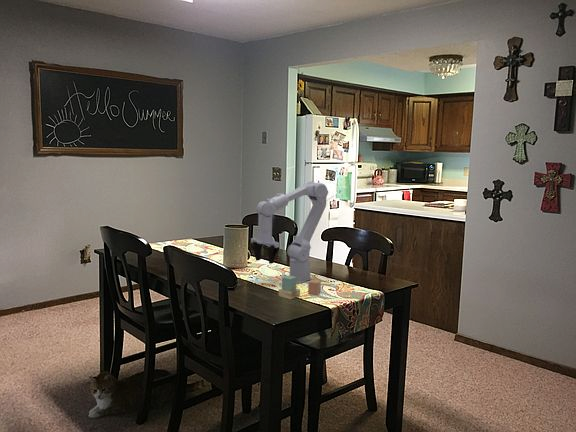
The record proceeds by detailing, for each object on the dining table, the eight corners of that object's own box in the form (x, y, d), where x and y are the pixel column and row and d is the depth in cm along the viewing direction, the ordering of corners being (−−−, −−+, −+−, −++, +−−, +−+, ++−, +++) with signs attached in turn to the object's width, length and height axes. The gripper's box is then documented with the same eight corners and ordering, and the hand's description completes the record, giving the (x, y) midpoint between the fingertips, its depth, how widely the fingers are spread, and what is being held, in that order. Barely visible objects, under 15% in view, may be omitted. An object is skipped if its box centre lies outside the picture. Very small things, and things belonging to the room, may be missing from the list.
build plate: (229, 283, 219) (230, 273, 218) (246, 285, 217) (246, 275, 217) (218, 291, 207) (218, 280, 207) (235, 293, 205) (235, 282, 205)
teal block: (288, 287, 204) (288, 275, 203) (296, 289, 202) (296, 277, 201) (281, 289, 201) (282, 277, 200) (289, 291, 199) (290, 279, 198)
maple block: (288, 293, 206) (288, 286, 206) (300, 296, 202) (300, 289, 202) (278, 296, 202) (278, 289, 201) (290, 300, 198) (290, 292, 197)
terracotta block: (311, 291, 209) (311, 279, 208) (320, 292, 207) (320, 280, 207) (308, 294, 205) (308, 282, 204) (317, 295, 204) (317, 283, 203)
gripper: (246, 229, 215) (245, 260, 217) (271, 233, 206) (270, 266, 208) (257, 227, 221) (257, 257, 223) (282, 231, 211) (282, 263, 213)
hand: (264, 261), depth 216 cm, fingers open, 7 cm apart
